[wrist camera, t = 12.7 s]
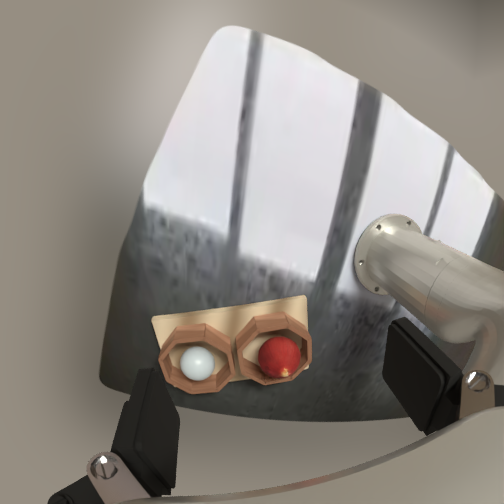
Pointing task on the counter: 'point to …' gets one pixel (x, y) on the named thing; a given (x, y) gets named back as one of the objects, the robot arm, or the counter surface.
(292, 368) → the onion
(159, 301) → the counter surface
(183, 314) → the pot board
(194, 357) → the white ball
